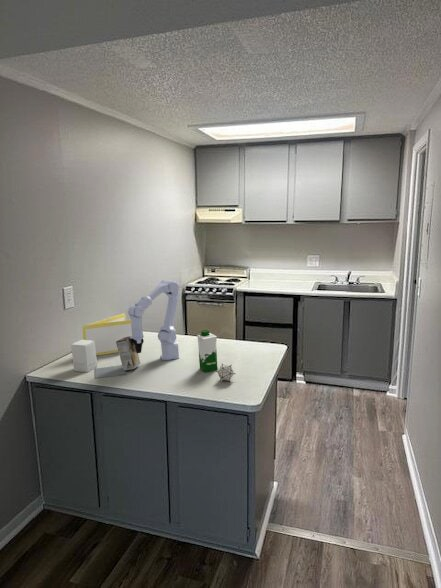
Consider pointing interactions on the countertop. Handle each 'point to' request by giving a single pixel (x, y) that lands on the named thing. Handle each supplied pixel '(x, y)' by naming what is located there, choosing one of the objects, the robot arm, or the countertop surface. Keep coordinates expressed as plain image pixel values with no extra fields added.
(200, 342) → the milk carton
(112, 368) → the mat
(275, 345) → the countertop surface
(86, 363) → the supplement box
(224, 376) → the spiky ball ornament
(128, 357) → the coffee box
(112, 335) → the yellow rectangular frame
